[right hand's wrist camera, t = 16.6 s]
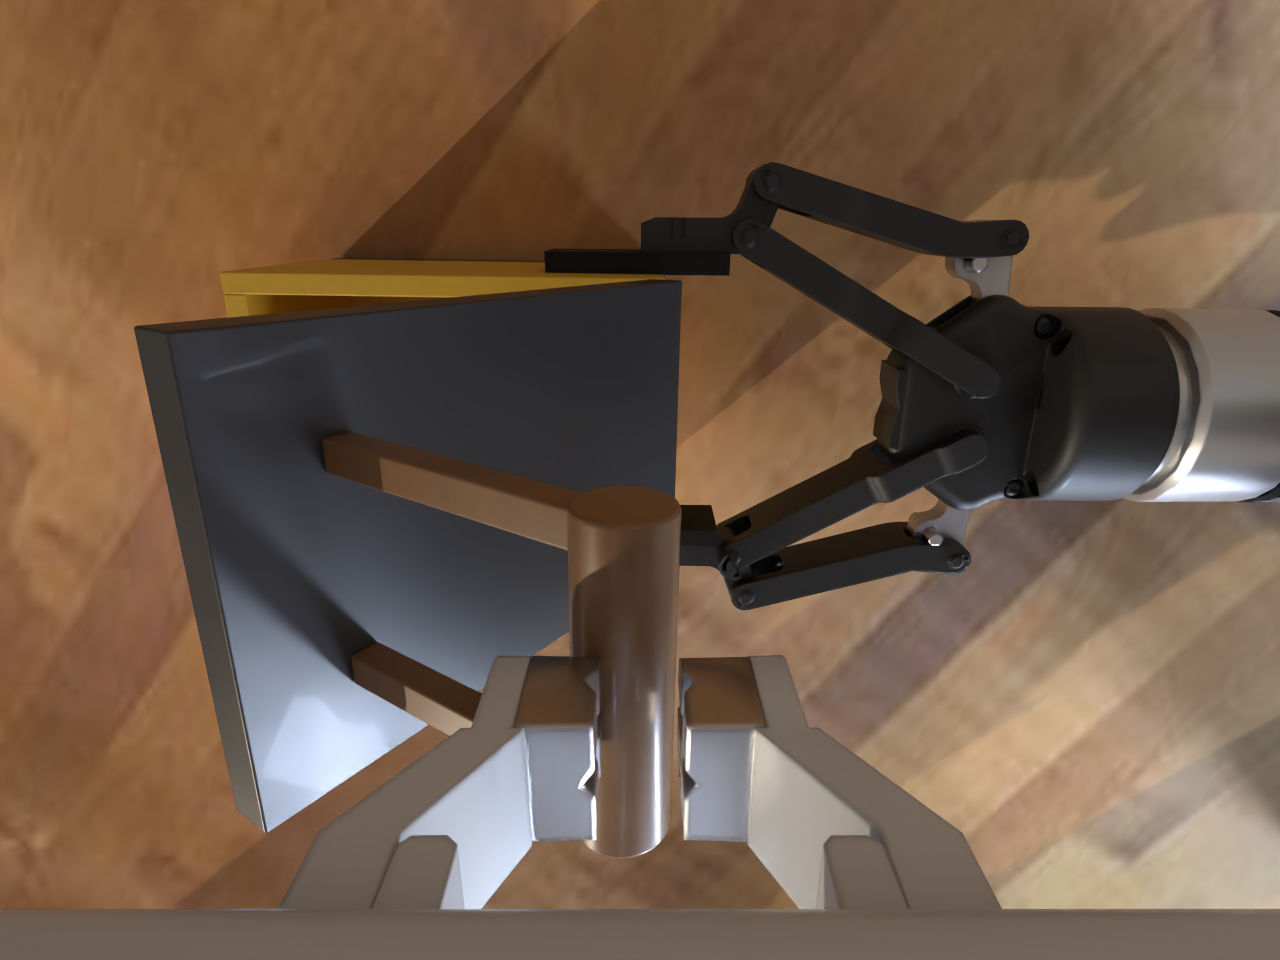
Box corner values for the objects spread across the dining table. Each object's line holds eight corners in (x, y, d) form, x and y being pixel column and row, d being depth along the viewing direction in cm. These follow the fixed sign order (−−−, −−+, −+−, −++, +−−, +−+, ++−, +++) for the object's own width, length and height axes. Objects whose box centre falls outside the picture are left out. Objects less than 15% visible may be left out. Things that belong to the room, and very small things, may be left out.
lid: (235, 810, 15) (559, 1077, 10) (131, 325, 12) (536, 402, 7) (647, 554, 27) (883, 625, 22) (652, 278, 24) (929, 296, 19)
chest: (363, 462, 37) (265, 546, 27) (339, 257, 33) (218, 271, 24) (654, 466, 37) (659, 551, 27) (658, 263, 33) (667, 278, 24)
